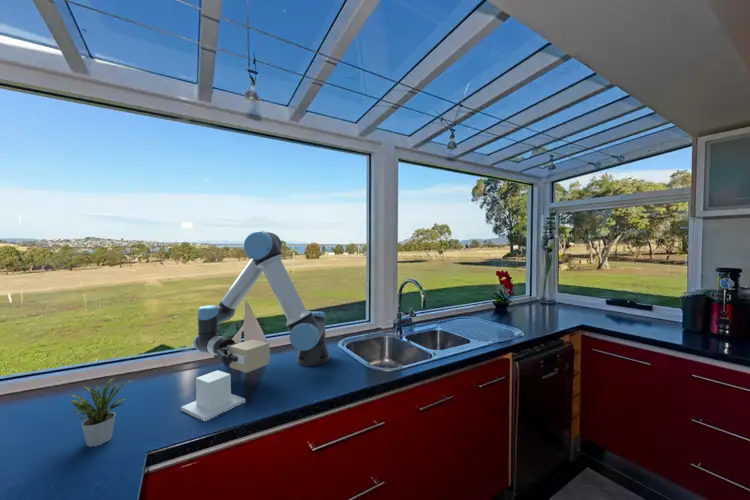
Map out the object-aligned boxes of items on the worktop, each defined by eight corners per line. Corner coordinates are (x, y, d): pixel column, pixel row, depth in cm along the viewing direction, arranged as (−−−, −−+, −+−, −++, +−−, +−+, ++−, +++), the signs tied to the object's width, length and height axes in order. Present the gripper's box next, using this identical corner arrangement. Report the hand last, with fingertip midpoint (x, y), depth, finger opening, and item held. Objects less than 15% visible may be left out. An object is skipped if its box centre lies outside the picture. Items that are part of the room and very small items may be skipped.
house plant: (129, 418, 97) (128, 367, 97) (142, 434, 88) (141, 378, 88) (66, 441, 86) (64, 382, 86) (73, 462, 77) (72, 397, 77)
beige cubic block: (252, 359, 124) (252, 339, 124) (269, 363, 118) (269, 342, 118) (229, 367, 115) (229, 346, 115) (246, 372, 110) (246, 350, 110)
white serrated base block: (221, 393, 114) (220, 365, 114) (245, 402, 106) (244, 372, 106) (181, 410, 102) (180, 379, 102) (205, 422, 94) (204, 388, 94)
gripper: (246, 348, 136) (281, 356, 124) (193, 364, 117) (229, 376, 105) (246, 331, 136) (280, 338, 124) (193, 344, 117) (228, 354, 105)
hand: (257, 355), depth 114 cm, fingers closed on beige cubic block, 10 cm apart
